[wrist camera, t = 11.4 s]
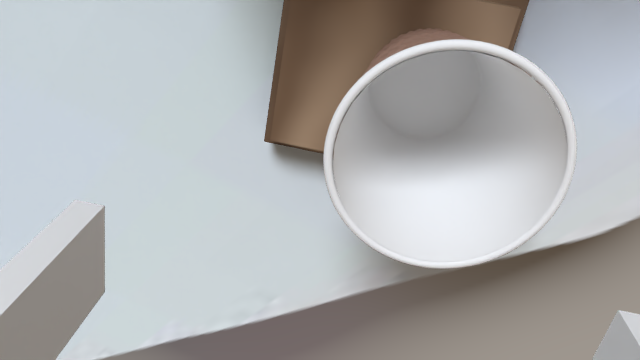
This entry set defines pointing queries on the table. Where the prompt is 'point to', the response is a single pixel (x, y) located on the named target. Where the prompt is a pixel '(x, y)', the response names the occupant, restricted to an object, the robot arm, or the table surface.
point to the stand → (359, 52)
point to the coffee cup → (449, 151)
